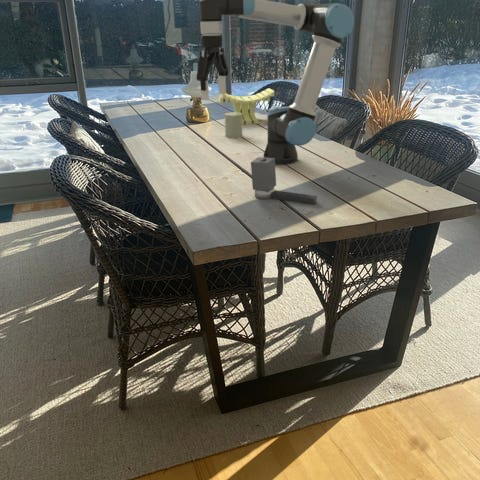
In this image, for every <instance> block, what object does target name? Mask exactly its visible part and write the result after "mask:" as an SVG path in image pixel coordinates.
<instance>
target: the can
mask: <svg viewBox="0 0 480 480" xmlns="http://www.w3.org/2000/svg"><path fill="white" fill-rule="evenodd" d="M224 125H225V126H224V128H225V129H224V131H225V135H224V136H225V137H226V138H229V139H237V138H241V137H243V124H242V113H239V112H235V111H233V112H232V111H231V112H226V113H224Z"/></svg>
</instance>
